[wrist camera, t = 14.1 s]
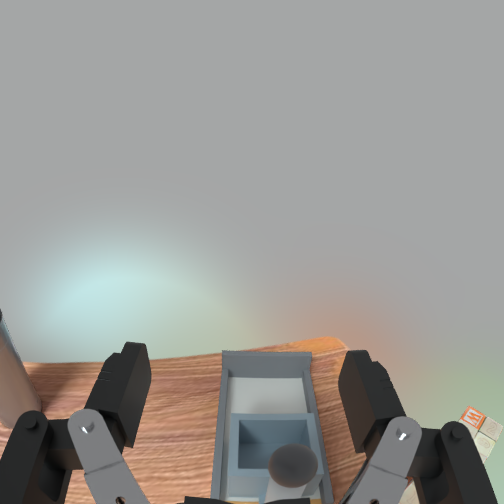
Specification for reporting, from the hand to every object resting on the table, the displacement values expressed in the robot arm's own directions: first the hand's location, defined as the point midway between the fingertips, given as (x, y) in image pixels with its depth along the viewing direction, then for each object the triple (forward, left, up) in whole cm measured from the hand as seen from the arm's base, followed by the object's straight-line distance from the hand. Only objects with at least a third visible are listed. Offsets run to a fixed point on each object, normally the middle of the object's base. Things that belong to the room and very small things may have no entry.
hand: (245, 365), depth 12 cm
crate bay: (+4, +17, -30) cm, 35 cm away
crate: (+4, +8, -29) cm, 30 cm away
